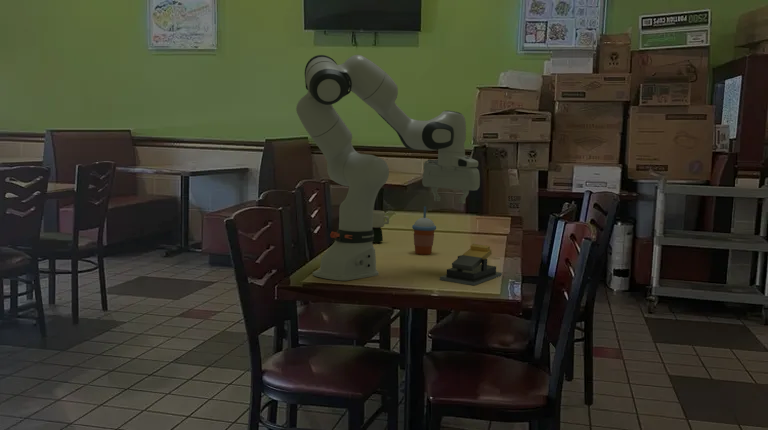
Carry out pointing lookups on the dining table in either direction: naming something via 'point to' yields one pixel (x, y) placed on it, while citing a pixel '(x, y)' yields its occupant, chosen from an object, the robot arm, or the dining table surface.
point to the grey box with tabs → (472, 274)
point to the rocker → (472, 257)
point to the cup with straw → (423, 235)
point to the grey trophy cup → (378, 224)
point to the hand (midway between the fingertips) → (449, 202)
